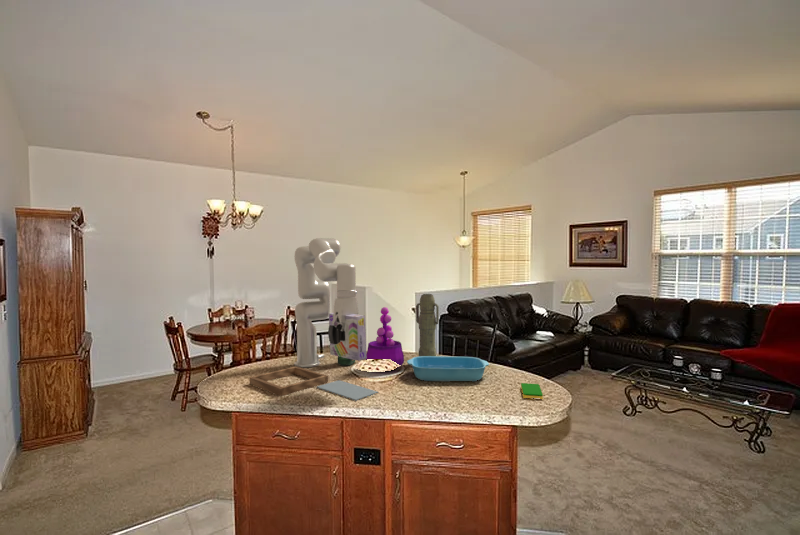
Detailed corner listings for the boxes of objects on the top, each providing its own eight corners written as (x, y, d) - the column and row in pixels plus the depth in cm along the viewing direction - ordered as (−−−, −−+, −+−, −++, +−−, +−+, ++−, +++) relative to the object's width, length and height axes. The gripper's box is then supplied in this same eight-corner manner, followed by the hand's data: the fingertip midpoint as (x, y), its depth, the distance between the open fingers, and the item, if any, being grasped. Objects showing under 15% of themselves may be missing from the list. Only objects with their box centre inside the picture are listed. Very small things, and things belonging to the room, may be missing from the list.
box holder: (296, 372, 199) (296, 366, 199) (328, 382, 184) (328, 375, 184) (249, 384, 182) (249, 377, 182) (280, 396, 166) (280, 388, 166)
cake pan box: (327, 354, 177) (327, 311, 177) (336, 352, 181) (336, 310, 181) (357, 362, 164) (357, 316, 164) (367, 360, 168) (367, 315, 167)
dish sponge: (523, 399, 163) (523, 393, 163) (520, 388, 177) (520, 382, 176) (542, 401, 162) (542, 394, 161) (538, 389, 175) (538, 383, 175)
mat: (339, 381, 185) (339, 380, 185) (378, 393, 170) (378, 391, 170) (316, 387, 177) (316, 386, 176) (356, 401, 161) (356, 399, 161)
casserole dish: (483, 370, 204) (483, 355, 204) (493, 384, 182) (493, 367, 182) (407, 369, 205) (407, 355, 205) (407, 384, 182) (407, 367, 182)
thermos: (418, 359, 224) (418, 293, 223) (440, 361, 220) (440, 293, 219) (413, 363, 215) (413, 294, 214) (436, 365, 212) (436, 295, 211)
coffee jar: (350, 366, 209) (349, 329, 209) (335, 365, 212) (335, 328, 211) (357, 362, 219) (357, 326, 218) (343, 361, 221) (343, 325, 220)
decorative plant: (361, 365, 212) (361, 305, 211) (397, 362, 218) (397, 304, 217) (370, 375, 194) (370, 310, 193) (409, 372, 200) (409, 308, 199)
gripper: (355, 292, 181) (355, 335, 181) (323, 295, 168) (324, 341, 168) (367, 293, 176) (368, 337, 176) (336, 296, 163) (336, 344, 164)
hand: (346, 339), depth 172 cm, fingers closed on cake pan box, 4 cm apart
